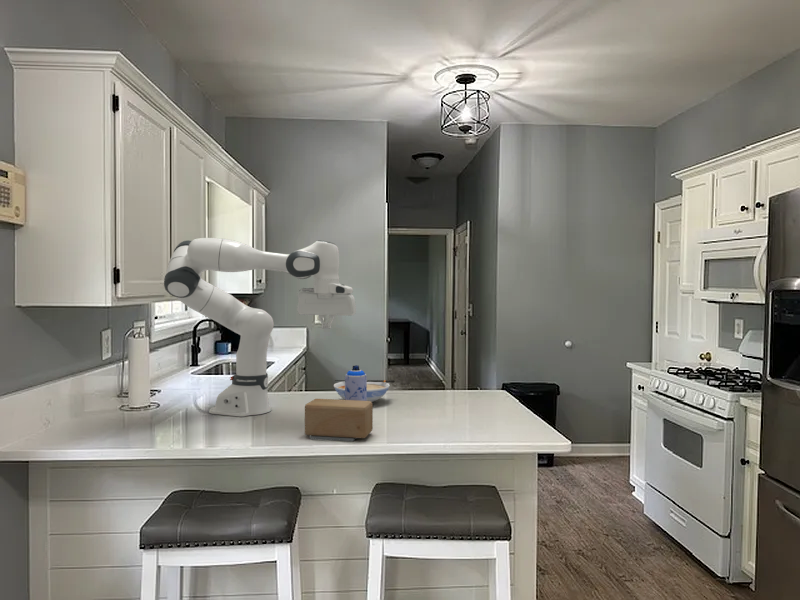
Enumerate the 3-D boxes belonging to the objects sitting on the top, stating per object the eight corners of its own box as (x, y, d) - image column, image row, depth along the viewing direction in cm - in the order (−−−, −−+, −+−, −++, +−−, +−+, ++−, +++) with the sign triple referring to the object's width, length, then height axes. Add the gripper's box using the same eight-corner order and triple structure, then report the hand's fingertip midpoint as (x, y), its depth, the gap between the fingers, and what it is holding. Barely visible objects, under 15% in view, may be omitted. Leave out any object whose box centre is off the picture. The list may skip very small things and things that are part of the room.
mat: (309, 439, 182) (309, 436, 182) (320, 430, 193) (320, 427, 193) (353, 441, 180) (353, 438, 180) (361, 432, 191) (361, 429, 191)
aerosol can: (352, 419, 208) (353, 363, 208) (371, 422, 204) (371, 365, 204) (339, 424, 201) (339, 366, 201) (358, 426, 198) (358, 368, 197)
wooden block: (303, 435, 183) (365, 439, 179) (303, 404, 183) (365, 407, 179) (314, 427, 193) (373, 431, 189) (314, 397, 192) (373, 400, 189)
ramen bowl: (324, 408, 227) (324, 387, 226) (337, 396, 249) (337, 377, 249) (388, 410, 224) (388, 388, 223) (395, 398, 246) (395, 378, 246)
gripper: (294, 288, 199) (294, 328, 200) (352, 288, 195) (352, 329, 196) (301, 287, 205) (301, 327, 206) (357, 288, 202) (357, 328, 202)
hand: (326, 328), depth 201 cm, fingers closed
